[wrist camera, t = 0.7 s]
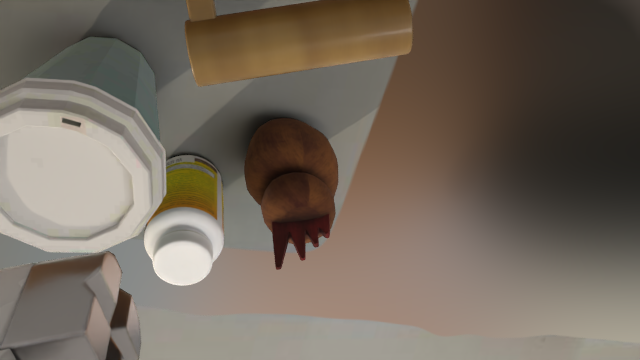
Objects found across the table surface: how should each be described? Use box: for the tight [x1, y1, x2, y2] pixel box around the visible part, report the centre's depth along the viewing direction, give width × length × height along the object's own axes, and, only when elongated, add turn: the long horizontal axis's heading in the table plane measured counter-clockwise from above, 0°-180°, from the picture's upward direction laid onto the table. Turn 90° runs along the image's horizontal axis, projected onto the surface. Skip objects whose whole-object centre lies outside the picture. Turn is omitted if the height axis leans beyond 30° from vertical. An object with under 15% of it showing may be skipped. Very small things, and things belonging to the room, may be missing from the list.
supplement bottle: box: [144, 155, 224, 285], centre depth 44 cm, size 6×6×10 cm
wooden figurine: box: [244, 118, 338, 270], centre depth 42 cm, size 7×6×15 cm
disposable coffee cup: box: [0, 37, 166, 253], centre depth 37 cm, size 11×11×15 cm
